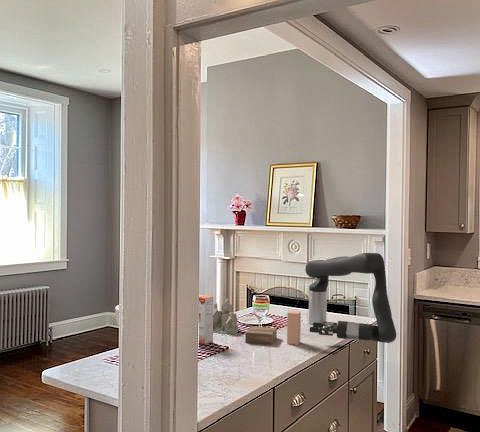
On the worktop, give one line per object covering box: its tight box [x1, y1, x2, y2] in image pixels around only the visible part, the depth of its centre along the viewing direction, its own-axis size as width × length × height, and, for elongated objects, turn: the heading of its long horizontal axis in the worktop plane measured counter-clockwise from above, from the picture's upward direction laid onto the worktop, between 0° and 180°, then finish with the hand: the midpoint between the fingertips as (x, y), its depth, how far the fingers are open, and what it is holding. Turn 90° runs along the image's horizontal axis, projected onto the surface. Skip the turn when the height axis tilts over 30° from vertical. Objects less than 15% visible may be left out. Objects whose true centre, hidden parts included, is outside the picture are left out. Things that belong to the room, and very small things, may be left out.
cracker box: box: [198, 294, 214, 345], centre depth 224 cm, size 14×6×21 cm, turn 51°
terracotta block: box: [286, 310, 302, 346], centre depth 223 cm, size 5×5×14 cm
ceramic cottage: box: [213, 298, 239, 335], centre depth 244 cm, size 16×16×15 cm
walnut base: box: [244, 325, 278, 346], centre depth 226 cm, size 12×12×5 cm
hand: (311, 326), depth 220 cm, fingers open, 8 cm apart
